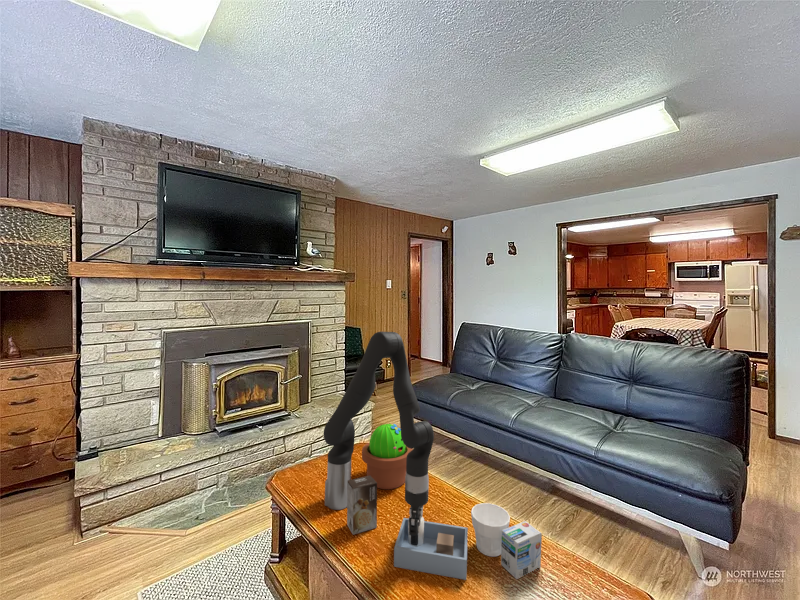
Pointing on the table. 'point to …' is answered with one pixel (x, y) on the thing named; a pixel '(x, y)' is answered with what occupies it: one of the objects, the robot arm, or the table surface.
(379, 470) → the potted cactus
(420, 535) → the white rounded cylinder
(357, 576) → the table surface
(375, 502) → the coffee box
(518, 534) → the light bulb box
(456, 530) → the tote
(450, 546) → the cube
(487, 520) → the cup
